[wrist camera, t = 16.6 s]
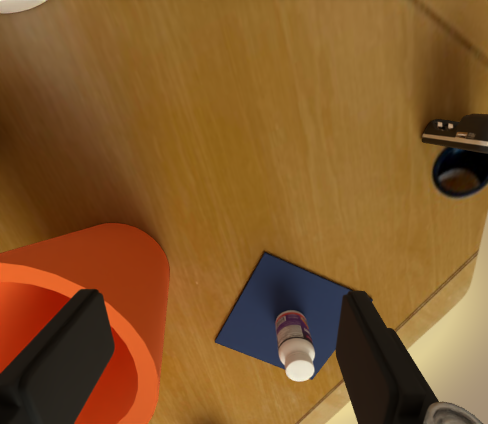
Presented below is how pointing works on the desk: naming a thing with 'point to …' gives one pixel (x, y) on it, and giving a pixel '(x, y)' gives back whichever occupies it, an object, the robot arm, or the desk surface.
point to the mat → (278, 301)
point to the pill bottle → (295, 345)
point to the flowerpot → (116, 301)
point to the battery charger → (459, 133)
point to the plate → (18, 5)
